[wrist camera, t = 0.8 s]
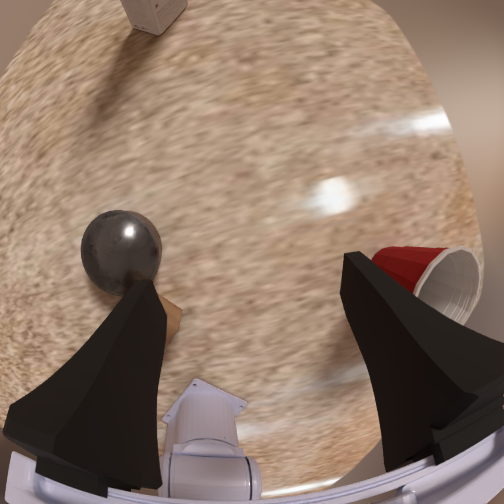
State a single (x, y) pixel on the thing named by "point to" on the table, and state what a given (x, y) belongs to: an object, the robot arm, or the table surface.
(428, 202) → the table surface
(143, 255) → the grey metal cylinder
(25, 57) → the table surface
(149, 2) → the skincare box
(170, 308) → the walnut block
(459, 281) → the plastic cup
